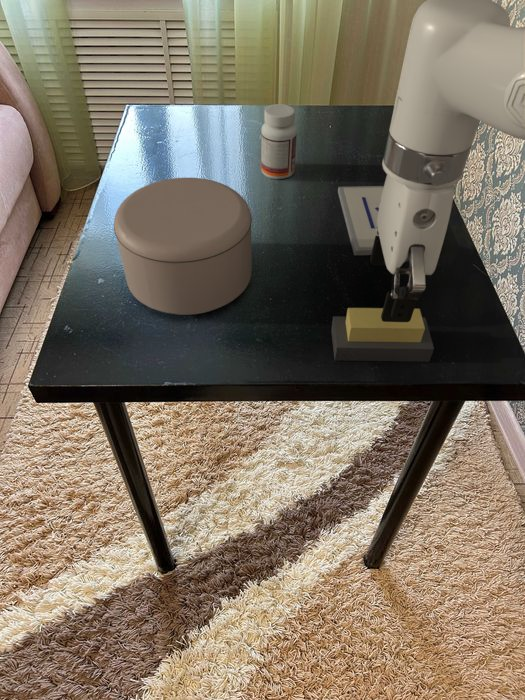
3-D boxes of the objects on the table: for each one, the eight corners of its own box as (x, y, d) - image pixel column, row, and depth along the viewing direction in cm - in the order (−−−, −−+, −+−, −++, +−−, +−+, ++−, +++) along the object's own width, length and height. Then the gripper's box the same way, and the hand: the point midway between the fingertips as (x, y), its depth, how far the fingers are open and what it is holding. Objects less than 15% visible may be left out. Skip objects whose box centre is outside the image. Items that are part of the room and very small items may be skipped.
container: (269, 305, 74) (271, 235, 66) (140, 335, 70) (123, 265, 62) (231, 232, 86) (228, 164, 77) (118, 254, 82) (102, 185, 73)
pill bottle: (279, 159, 101) (281, 99, 93) (301, 173, 98) (305, 111, 90) (254, 170, 99) (254, 108, 90) (275, 184, 96) (277, 121, 87)
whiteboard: (438, 253, 83) (440, 248, 82) (353, 255, 82) (354, 250, 81) (411, 190, 95) (413, 185, 94) (337, 191, 94) (338, 186, 93)
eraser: (421, 330, 71) (430, 303, 68) (429, 362, 68) (439, 334, 64) (331, 329, 71) (335, 302, 68) (334, 360, 68) (339, 333, 64)
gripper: (490, 208, 44) (435, 346, 57) (445, 113, 56) (407, 245, 69) (400, 205, 44) (365, 344, 57) (373, 111, 56) (349, 244, 69)
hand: (388, 290), depth 63 cm, fingers open, 9 cm apart
